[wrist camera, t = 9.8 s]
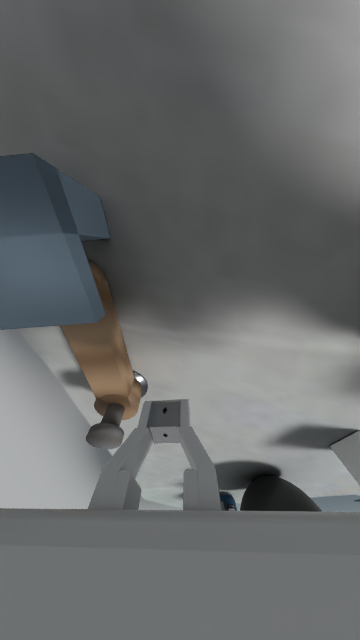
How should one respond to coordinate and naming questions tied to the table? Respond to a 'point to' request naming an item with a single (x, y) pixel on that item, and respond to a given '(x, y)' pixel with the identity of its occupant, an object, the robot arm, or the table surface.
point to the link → (105, 368)
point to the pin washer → (141, 382)
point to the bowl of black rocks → (276, 496)
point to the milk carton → (349, 454)
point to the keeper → (46, 246)
